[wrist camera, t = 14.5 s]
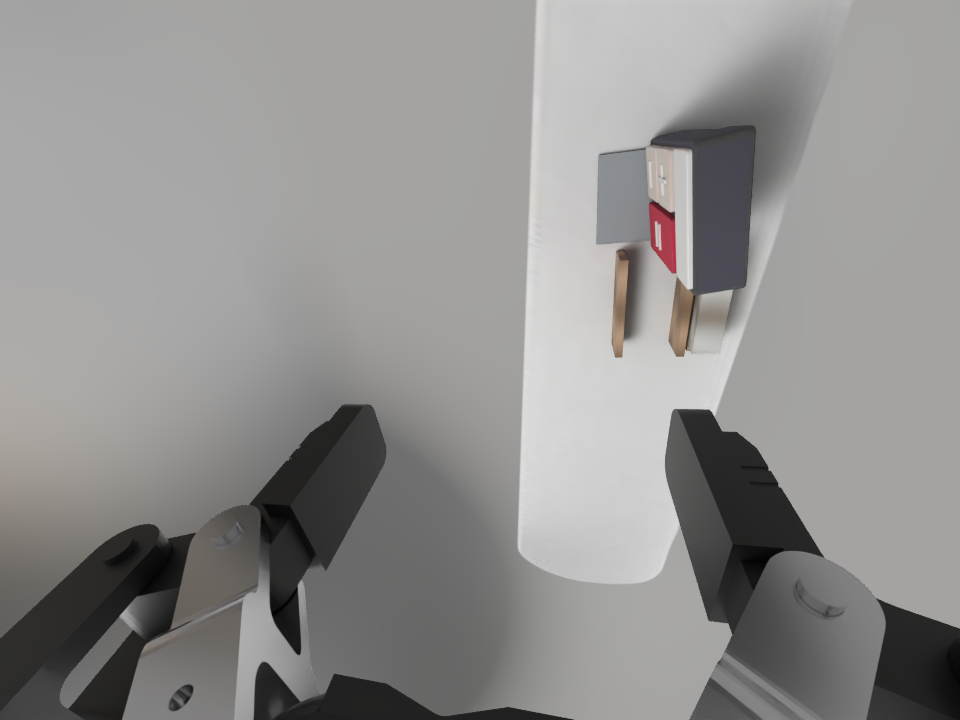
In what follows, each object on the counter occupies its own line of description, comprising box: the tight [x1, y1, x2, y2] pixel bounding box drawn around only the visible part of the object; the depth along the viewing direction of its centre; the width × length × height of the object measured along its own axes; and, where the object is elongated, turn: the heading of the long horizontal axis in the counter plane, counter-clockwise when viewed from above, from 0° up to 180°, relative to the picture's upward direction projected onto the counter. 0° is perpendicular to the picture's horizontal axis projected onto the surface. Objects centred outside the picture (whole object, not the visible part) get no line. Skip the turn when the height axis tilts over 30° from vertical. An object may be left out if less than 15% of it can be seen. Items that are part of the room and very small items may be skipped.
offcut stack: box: [685, 290, 733, 354], centre depth 42 cm, size 11×3×5 cm, turn 7°
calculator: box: [646, 125, 756, 295], centre depth 33 cm, size 11×4×15 cm, turn 15°
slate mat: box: [596, 149, 654, 244], centre depth 40 cm, size 9×12×1 cm
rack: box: [612, 250, 694, 357], centre depth 44 cm, size 12×8×4 cm, turn 7°
